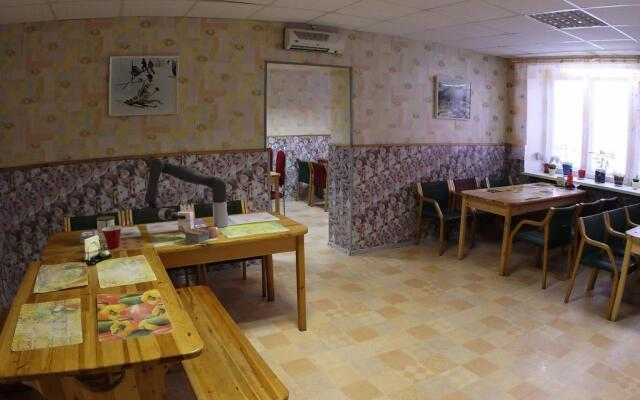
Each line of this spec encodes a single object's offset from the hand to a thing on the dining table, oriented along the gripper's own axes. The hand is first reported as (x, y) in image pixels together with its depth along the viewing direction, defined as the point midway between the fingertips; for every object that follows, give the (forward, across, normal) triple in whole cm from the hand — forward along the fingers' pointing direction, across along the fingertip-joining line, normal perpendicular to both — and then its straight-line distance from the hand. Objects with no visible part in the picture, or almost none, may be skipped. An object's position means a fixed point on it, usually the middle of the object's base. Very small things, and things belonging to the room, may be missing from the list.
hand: (188, 216), depth 290 cm
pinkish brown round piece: (+13, +7, +13) cm, 20 cm away
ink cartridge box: (-2, 0, +9) cm, 9 cm away
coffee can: (-42, -26, +13) cm, 51 cm away
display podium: (+9, -4, +13) cm, 17 cm away
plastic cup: (-25, -37, +13) cm, 47 cm away
